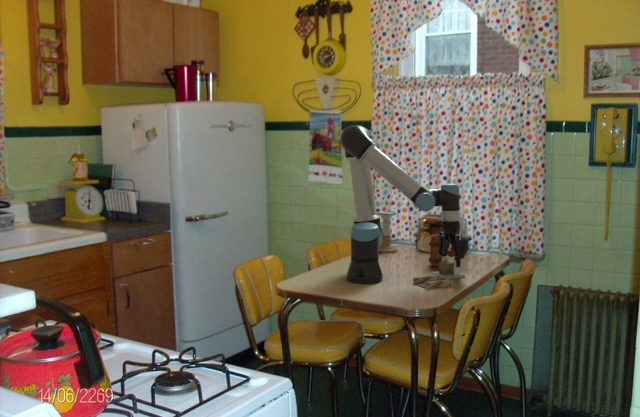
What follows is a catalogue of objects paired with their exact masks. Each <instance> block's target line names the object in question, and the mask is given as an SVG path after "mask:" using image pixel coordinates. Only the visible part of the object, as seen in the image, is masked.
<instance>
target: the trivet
mask: <svg viewBox="0 0 640 417" xmlns="http://www.w3.org/2000/svg"><path fill="white" fill-rule="evenodd" d="M431 275H439V278H440V279H442V280H449V279H451V280H452V279H461V278H462V279H463V278H465V277H466V275H465V274H464V273H461V272H460V275H454V274H452V275H444V274H441V273H439V270H438V271H431Z"/></svg>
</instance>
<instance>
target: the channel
mask: <svg viewBox="0 0 640 417" xmlns="http://www.w3.org/2000/svg"><path fill="white" fill-rule="evenodd" d="M439 278H440V277H439V275H432V274H431V275H426V276H425V275H424V276H417V277H416V276H415V277H413V279H412V283H413V284H412V285H416V286H419V287H421V288H423V289H426V290H427V289H436V288H444V287H445V288H446V287H451V286H452V279H446V280H445V279H442V280H440V279H439Z"/></svg>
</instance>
